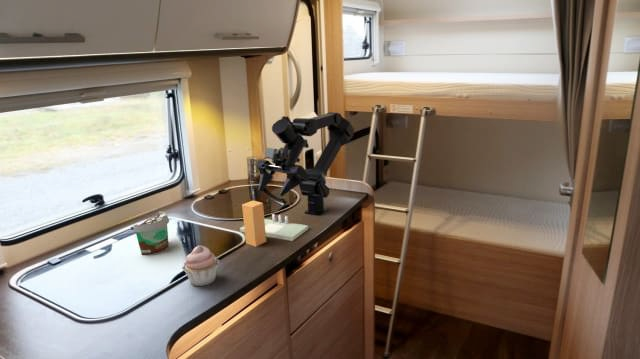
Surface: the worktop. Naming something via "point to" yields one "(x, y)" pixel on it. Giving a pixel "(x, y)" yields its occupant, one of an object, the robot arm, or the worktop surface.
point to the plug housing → (254, 223)
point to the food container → (153, 234)
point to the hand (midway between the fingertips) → (269, 193)
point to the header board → (282, 228)
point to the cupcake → (201, 266)
